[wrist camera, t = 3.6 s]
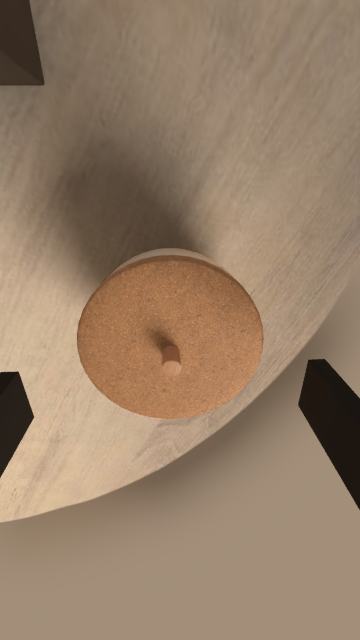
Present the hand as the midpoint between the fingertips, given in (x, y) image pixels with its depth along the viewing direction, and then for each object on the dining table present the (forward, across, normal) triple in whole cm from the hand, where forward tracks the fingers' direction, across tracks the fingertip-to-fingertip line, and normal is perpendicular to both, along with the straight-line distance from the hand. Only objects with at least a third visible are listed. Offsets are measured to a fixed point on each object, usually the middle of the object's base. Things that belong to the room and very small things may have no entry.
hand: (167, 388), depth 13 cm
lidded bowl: (+11, 0, 0) cm, 11 cm away
